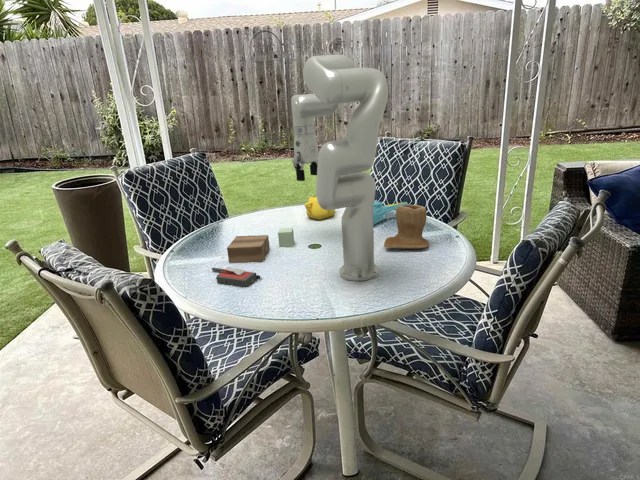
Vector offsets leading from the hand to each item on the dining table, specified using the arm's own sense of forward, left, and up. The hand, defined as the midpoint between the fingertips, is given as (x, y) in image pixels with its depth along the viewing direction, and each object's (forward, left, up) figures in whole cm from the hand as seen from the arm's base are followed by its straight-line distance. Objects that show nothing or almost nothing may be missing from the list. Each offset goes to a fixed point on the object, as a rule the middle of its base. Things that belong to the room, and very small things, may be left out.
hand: (307, 177), depth 164 cm
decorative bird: (+11, -25, -24) cm, 37 cm away
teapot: (+29, -2, -24) cm, 38 cm away
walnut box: (-16, +21, -24) cm, 36 cm away
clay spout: (-12, -35, -24) cm, 44 cm away
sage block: (-6, +9, -24) cm, 26 cm away
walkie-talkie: (-35, +23, -25) cm, 49 cm away
